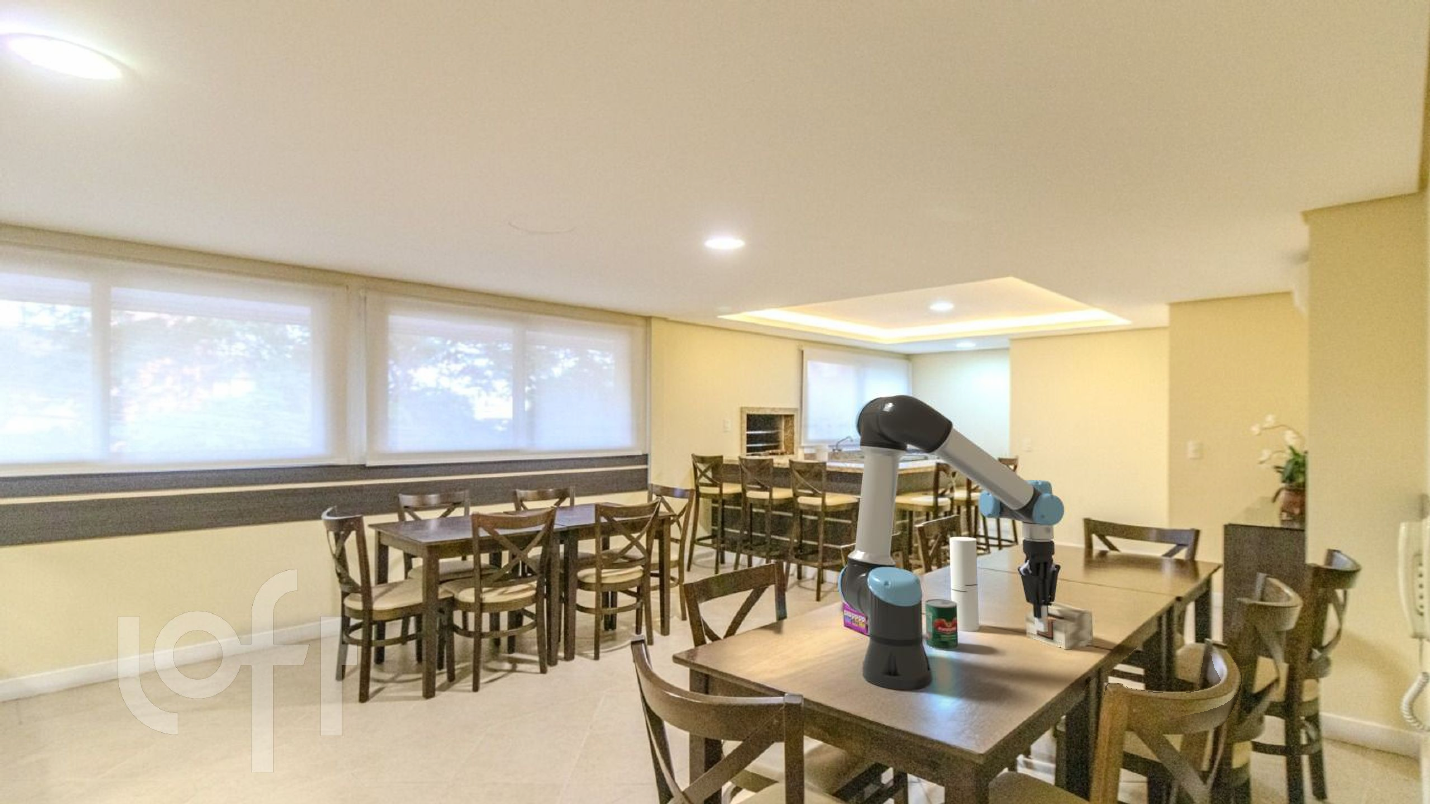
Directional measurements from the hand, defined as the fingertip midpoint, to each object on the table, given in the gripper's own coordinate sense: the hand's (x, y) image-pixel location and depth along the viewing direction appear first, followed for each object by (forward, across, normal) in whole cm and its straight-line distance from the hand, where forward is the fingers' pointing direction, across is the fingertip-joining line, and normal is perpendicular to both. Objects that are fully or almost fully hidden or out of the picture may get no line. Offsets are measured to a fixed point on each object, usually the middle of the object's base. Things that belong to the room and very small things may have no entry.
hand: (1041, 630), depth 170 cm
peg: (+1, +6, 0) cm, 6 cm away
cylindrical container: (+4, -8, +19) cm, 21 cm away
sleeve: (+3, +6, 0) cm, 7 cm away
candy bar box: (+4, -36, +29) cm, 46 cm away
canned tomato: (+4, -25, +9) cm, 27 cm away
